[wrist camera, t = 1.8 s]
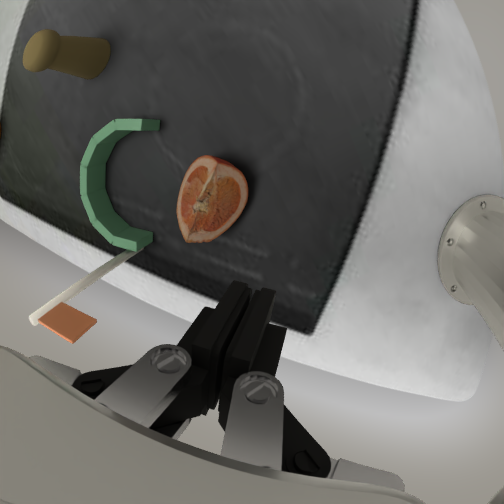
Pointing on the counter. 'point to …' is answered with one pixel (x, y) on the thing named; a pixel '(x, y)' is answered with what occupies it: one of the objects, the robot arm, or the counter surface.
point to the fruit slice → (210, 199)
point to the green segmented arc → (105, 221)
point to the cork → (66, 54)
